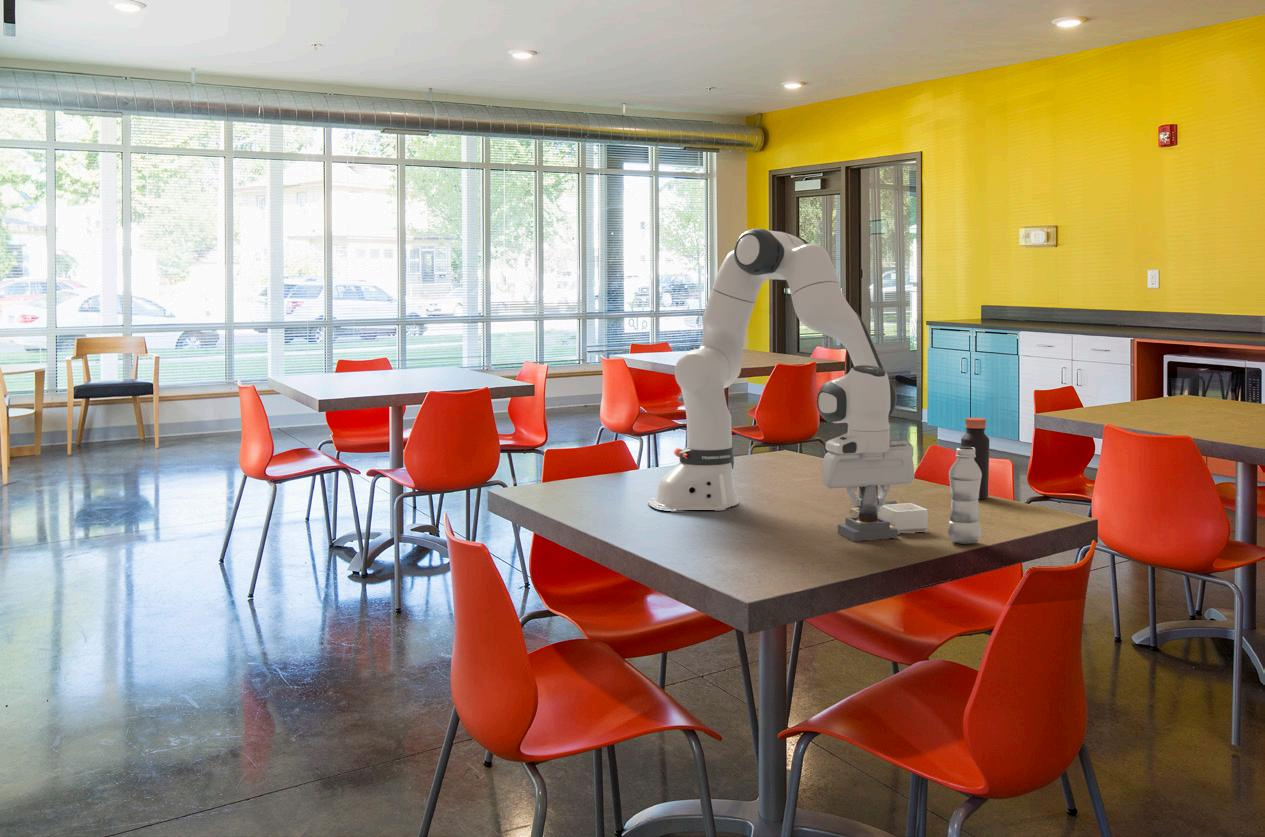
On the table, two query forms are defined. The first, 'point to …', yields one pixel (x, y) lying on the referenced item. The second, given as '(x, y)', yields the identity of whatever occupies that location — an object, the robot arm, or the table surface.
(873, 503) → the cylinder
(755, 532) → the table surface
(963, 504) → the plastic bottle
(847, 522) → the cradle
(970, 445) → the vinegar
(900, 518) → the white square box
